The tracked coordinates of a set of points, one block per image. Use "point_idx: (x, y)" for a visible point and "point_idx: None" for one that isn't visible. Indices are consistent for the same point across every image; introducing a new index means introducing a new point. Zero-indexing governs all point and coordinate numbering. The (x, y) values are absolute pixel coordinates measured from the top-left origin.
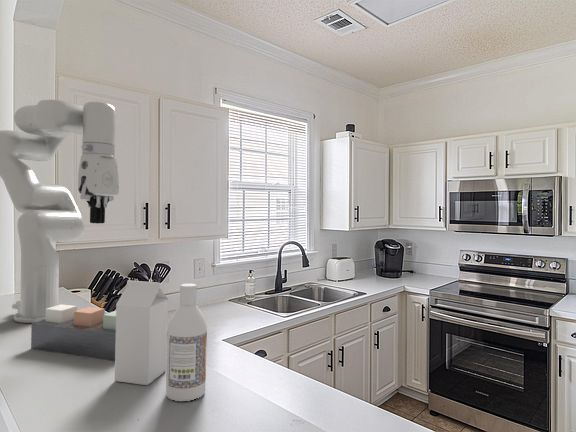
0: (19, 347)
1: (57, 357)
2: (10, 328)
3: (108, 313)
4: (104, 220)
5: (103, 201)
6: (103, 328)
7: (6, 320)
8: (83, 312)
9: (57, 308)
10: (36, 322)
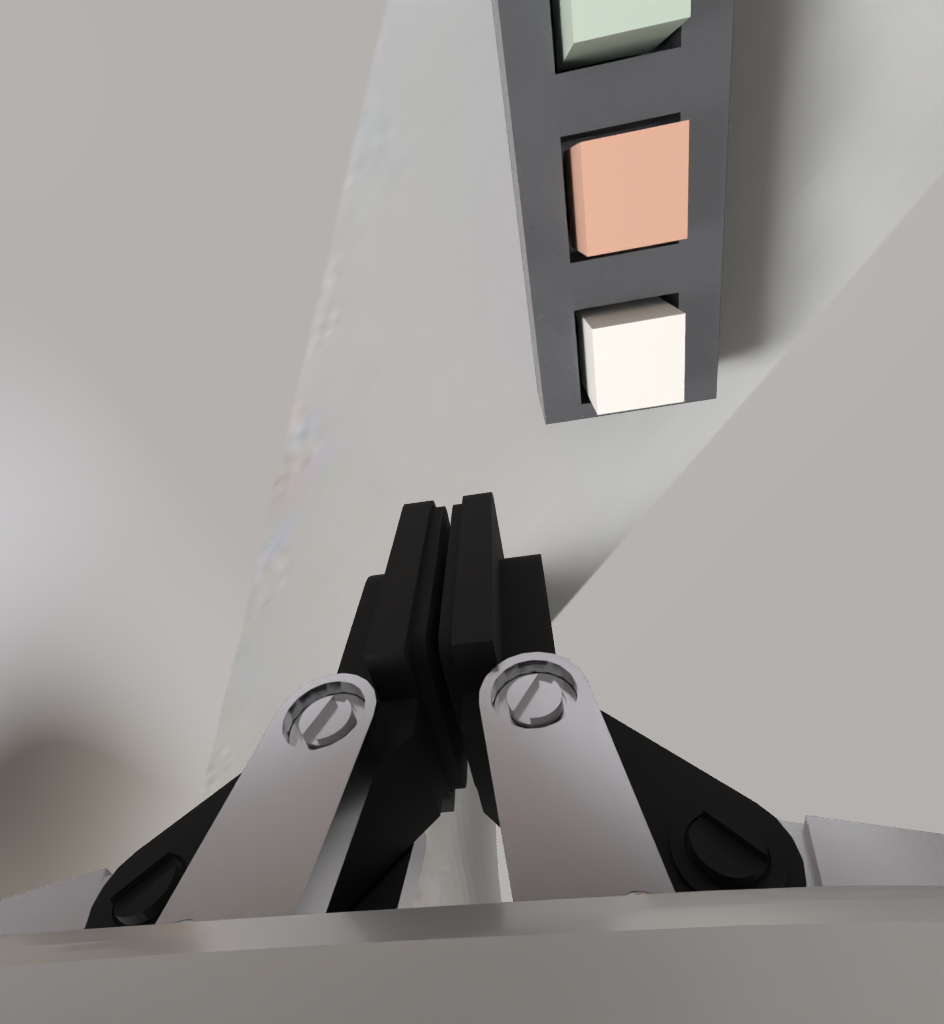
0: (683, 416)
1: None
2: (557, 594)
3: (654, 17)
4: (407, 514)
5: (347, 811)
6: None
7: None
8: (686, 175)
9: (661, 364)
10: (700, 392)
